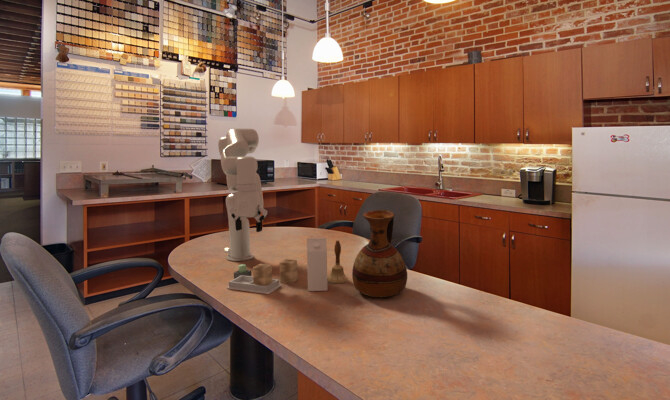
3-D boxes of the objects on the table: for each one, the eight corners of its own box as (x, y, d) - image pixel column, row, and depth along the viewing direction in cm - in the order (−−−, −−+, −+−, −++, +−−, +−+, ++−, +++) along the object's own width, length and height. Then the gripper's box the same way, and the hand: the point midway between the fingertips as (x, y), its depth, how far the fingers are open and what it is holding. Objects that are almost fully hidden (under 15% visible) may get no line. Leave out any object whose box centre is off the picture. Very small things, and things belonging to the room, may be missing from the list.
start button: (237, 275, 159) (237, 266, 158) (241, 273, 162) (241, 264, 161) (243, 276, 158) (243, 266, 157) (248, 274, 161) (247, 264, 160)
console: (234, 279, 158) (233, 272, 158) (241, 276, 163) (240, 269, 163) (244, 281, 157) (244, 273, 156) (251, 277, 161) (251, 270, 161)
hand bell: (350, 277, 159) (350, 239, 157) (344, 284, 151) (344, 243, 149) (331, 276, 162) (330, 237, 160) (324, 282, 154) (323, 242, 152)
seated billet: (253, 288, 147) (252, 267, 146) (260, 284, 151) (260, 263, 150) (265, 289, 145) (264, 268, 144) (272, 285, 149) (271, 264, 148)
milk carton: (307, 285, 151) (306, 236, 149) (326, 284, 152) (325, 235, 149) (308, 291, 144) (306, 240, 142) (327, 290, 145) (326, 240, 142)
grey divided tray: (227, 288, 148) (226, 281, 148) (240, 281, 157) (240, 274, 156) (269, 294, 142) (268, 287, 142) (281, 286, 150) (280, 279, 150)
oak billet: (280, 282, 155) (279, 262, 154) (286, 278, 160) (285, 259, 159) (291, 283, 153) (291, 263, 152) (297, 279, 158) (296, 260, 157)
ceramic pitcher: (344, 298, 137) (343, 213, 134) (361, 280, 156) (361, 205, 152) (400, 305, 131) (401, 215, 127) (411, 285, 149) (412, 207, 145)
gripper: (223, 188, 156) (225, 231, 158) (260, 189, 150) (262, 233, 152) (234, 187, 163) (236, 227, 165) (271, 187, 157) (272, 230, 159)
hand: (249, 230), depth 159 cm, fingers open, 9 cm apart
